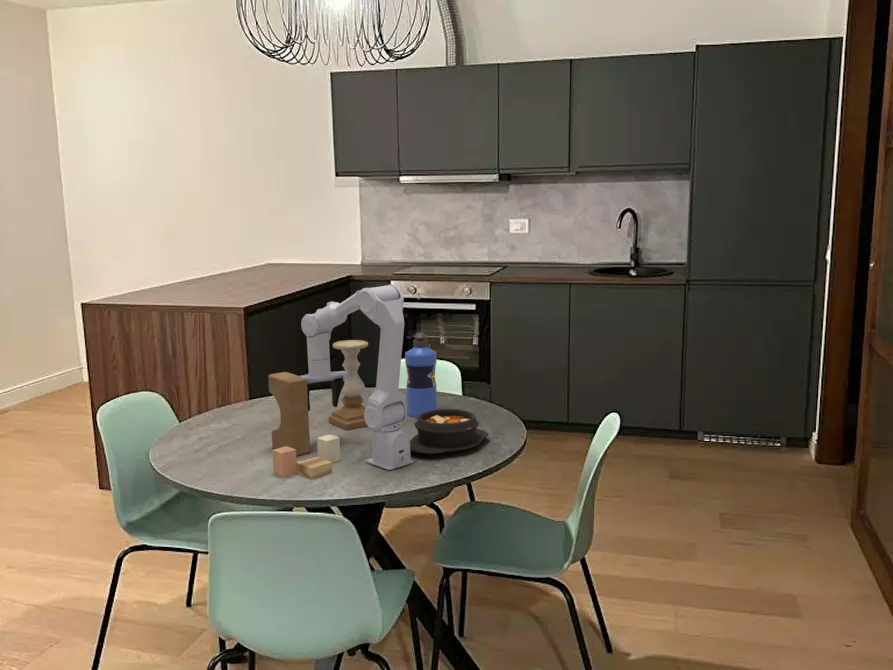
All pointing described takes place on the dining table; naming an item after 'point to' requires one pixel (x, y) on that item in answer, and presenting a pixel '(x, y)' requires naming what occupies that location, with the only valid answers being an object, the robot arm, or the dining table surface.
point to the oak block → (314, 467)
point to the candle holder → (350, 388)
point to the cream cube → (329, 448)
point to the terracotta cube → (284, 461)
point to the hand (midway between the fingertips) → (321, 408)
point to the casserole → (446, 432)
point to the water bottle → (420, 377)
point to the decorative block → (291, 412)
